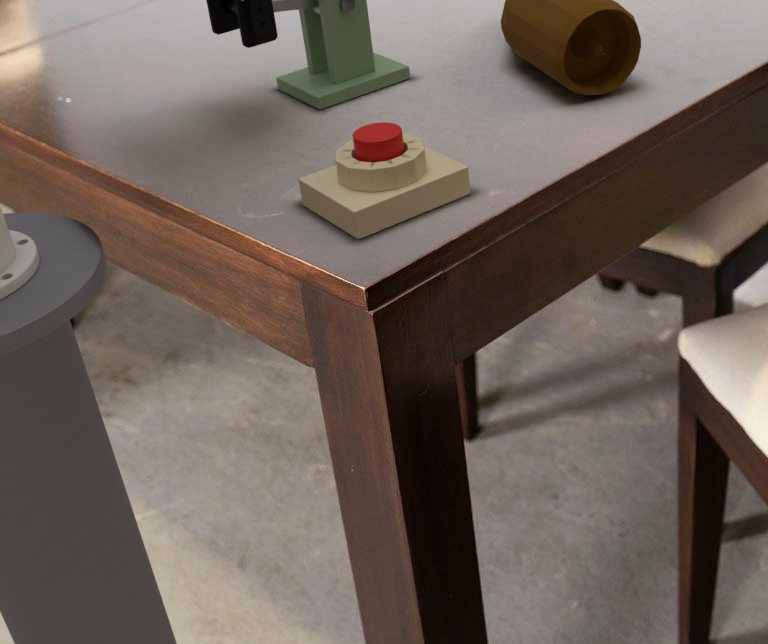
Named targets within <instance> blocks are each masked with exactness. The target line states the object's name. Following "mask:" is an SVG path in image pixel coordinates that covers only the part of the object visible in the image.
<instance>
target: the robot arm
mask: <svg viewBox="0 0 768 644" xmlns="http://www.w3.org/2000/svg"><path fill="white" fill-rule="evenodd" d="M234 1H235V6H236V12H237V16H236V15H234V14H231V13H229V12H226V11H225V10H224V9H223V6H222V2H223V0H206V6H207V11H208V17H209V21H210V22H209V23H210V26H211V31H212V33H213V34H215V35H223V34H227V33H229V32H230V33H231V32H233V31H237V30H239V33H240V40H241V43H242V46H243V47H245V48H246V49H247V48H248V49H250V48H253V47H257V46H260V45H263V44H267V43H270V42H274V41H276V40H277V39H278V36H279V35H278V30H277V29H278V28H277V23H276V17H275V12H274V10H273V4H272V0H234ZM3 214H4V213H3V210H2V206H0V300H2V299H4V298H5V297H7V296H9V295H10V294H12V293H14V292H15V291H17V290H18V289H19V288H20V287H22V286H23V285H24V284H25V283H26V282H27V281H28V280H29V279H30V278H31V277H32V276H33V275H34V273H35V271H36V270H37V268H38V266H39V262H40V257H39V253H38V250H37V247H36V245H35V242H34V241H33V240H32V239H31V238H30V237H29V236H27V235H25V234H22V233H20V232H17V231H12V230H8V227H7V224H6V221H5V218H4V215H3Z"/></svg>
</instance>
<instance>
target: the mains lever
mask: <svg viewBox="0 0 768 644" xmlns="http://www.w3.org/2000/svg"><path fill="white" fill-rule="evenodd" d="M272 4H273V10H274V13H280V12H290V11H299V9H307V8H312V11H313V12H315V13H318V14H320V9H319V3H318V0H272ZM222 6H223V9H224V10H225V11H226V12H229V13H231V14H234V15H236V16H237V12H236V6H235V1H234V0H223V2H222Z"/></svg>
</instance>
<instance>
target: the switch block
mask: <svg viewBox="0 0 768 644" xmlns="http://www.w3.org/2000/svg"><path fill="white" fill-rule="evenodd" d="M402 135H403V143H404V153H403V155H402V156H399V157H396V158H394V159H391V160H388V161H382V162H374V163H373V162H362V161H358V160H357V159H356V156H355V149H354V142H353V139H350V140H348V141H346V142H345V143H343V144H342V145H341V146H340V147H339V148H338V149H336V150H335V164H334V165H332V166H328V167H326V168H323V169H321V170H319V171H318V170H317V171H316V172H313V173H310V174H308V175H304V176H302V177H300V178H298V186H299V191H300V196H301V201H302V206H304V207H305V208H307V209H308V210H310V211H312V212H313V213H315V214H317V215H318V216H320V217H321V218H323V219H324V220H326V221H328V222H329V223H331V224H332V225H334V226H335V227H337V228H339V229H341V230H342V231H344V232H345V233H347V234H349V235H350V236H352V237H353V238H355V239H356V240H361V239H363V238H366V237H369V236H371V235H373V234H376V233H378V232H381V231H384V230H385V229H388V228H390V227H393V226H395V225H398V224H400V223H402V222H405V221H407V220H410V219H412V218H415V217H417V216H419V215H422V214H424V213H427V212H429V211H431V210H434V209H436V208H439V207H441V206H444V205H446V204H448V203H451V202H454V201H456V200H458V199H460V198H463V197H466V196H468V195H470V194H471V181H470V169H469V166H468V165H466V164H463V163H461V162H460V161H458V160H455V159H453V158H451V157H449V156H447V155H445V154H443V153H440V152H438V151H436V150H434V149H432V148H430V147H429V146H426V145H425V144H424V141H423V139H422V138H420V137H417V136H415V135H413V134H411V133H408V132H402Z"/></svg>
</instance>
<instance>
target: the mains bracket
mask: <svg viewBox="0 0 768 644" xmlns="http://www.w3.org/2000/svg"><path fill="white" fill-rule="evenodd" d="M318 3H319V9H320V14H318V13H315V12H313V11H312V8H307V9H299V10H298V14H299V18H300V19H299V20H300V26H301V32H302V39H303V44H304V50H305V57H306V64H307V66H306V67H304V68H301V69H298V70H295V71H292V72H288V73H286V74H282V75H279V76H276V77H275V80H276V85H277V89H278V90H279V91H281V92H283V93H285V94H287V95H289V96H291V97H292V98H295V99H296V100H298V101H301V102H303V103H305V104H307V105H309V106H311V107H313V108H315V109H317V110H323V109H327V108H329V107H332V106H335V105H338V104H341V103H344V102H346V101H349V100H352V99H355V98H357V97H360V96H363V95H364V96H365V95H366V94H369V93H372V92H375V91H377V90H380V89H383V88H386V87H389V86H393V85H394V84H395V85H396V84H398V83H401V82H403V81H407V80H409V79H411V73H410V66H409V65H406V64H404V63H402V62H399V61H396V60H393V59H391V58H388V57H386V56H383V55H380V54H378V53H376V52H374V50H373V49H374V47H373V41H372V35H371V34H372V32H371V26H370V17H369V9H368V1H367V0H318Z"/></svg>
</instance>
